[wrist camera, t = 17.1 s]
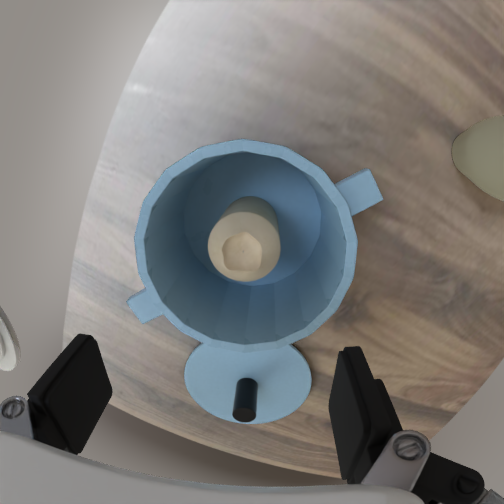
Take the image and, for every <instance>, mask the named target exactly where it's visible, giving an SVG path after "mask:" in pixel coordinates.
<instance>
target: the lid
mask: <svg viewBox="0 0 504 504" xmlns="http://www.w3.org/2000/svg"><path fill="white" fill-rule="evenodd" d="M184 378H185V383H186V387H187V389H188V391H189V393H190V395H191V396H192V398H193V399H194V400H195V401H196V403H197V404H199V405H200V406H201V407H202V408H203V409H205V410H206V411H207V412H209V413H211V414H212V415H215V416H217V417H219V418H221V419H224V420H227V421H231V422H236V423H243V424H260V423H267V422H271V421H275V420H278V419H281V418H283V417H285V416H287V415H289V414H291V413H292V412H294V411H295V410H296V409H297V408H299V407H300V406H301V404H302V403H303V402H304V401H305V399H306V398H307V396H308V394H309V392H310V388H311V381H312V378H311V371H310V368H309V365H308V363H307V361H306V359H305V358H304V356H303V355H302V354H301V353H300V352H299V351H298V350H297V349H296V348H295V347H294V346H293V345H291V344H289V345H287V346H285V347H282V348H280V349H274V350H266V351H257V352H248V353H242V352H236V351H231V350H225V349H220V348H215V347H210V346H208V345H206V344H204V343H201V344H200V345H198V346H197V347H196V348H195V349H194V350H193V352H192V353H191V354H190V356H189V358H188V360H187V363H186V366H185V371H184Z"/></svg>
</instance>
